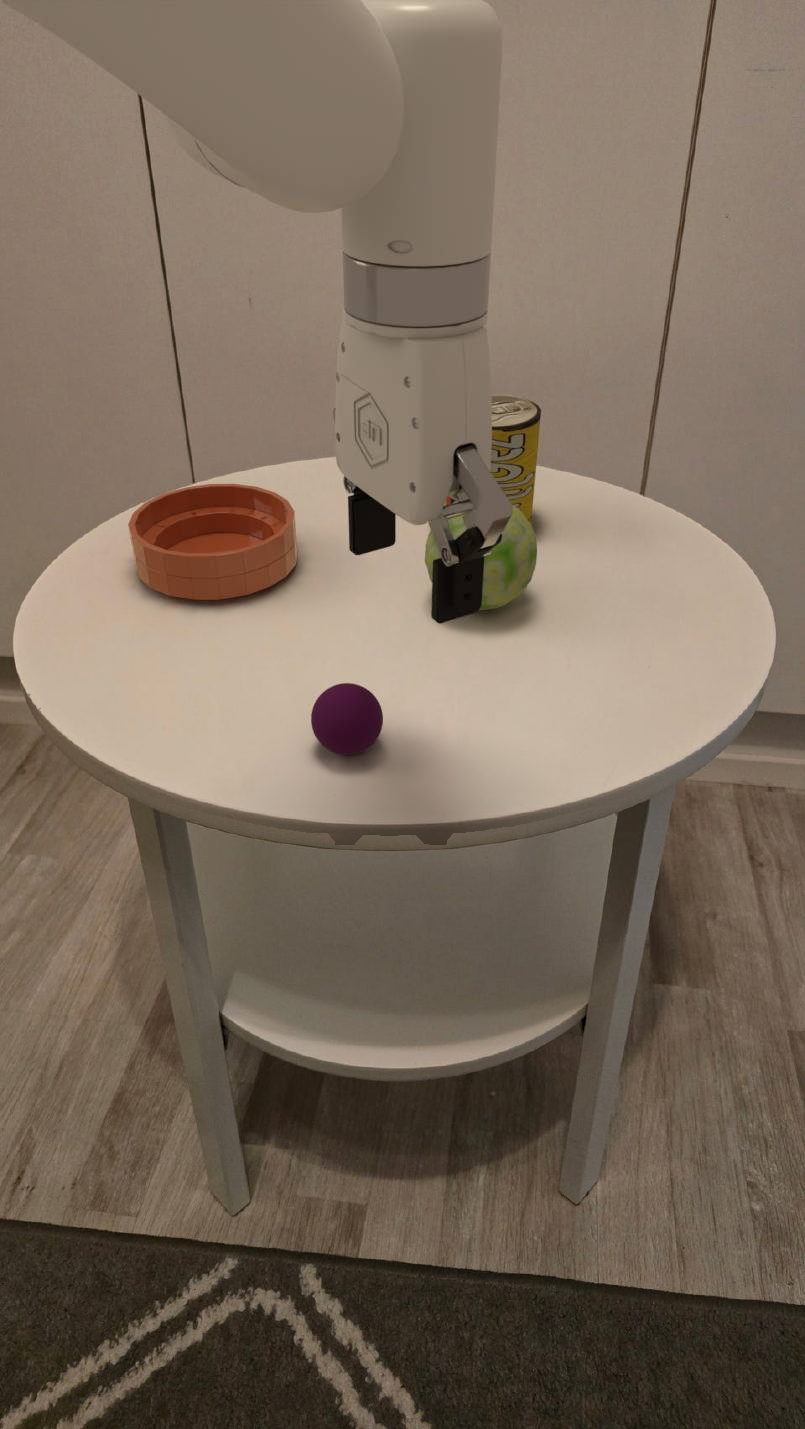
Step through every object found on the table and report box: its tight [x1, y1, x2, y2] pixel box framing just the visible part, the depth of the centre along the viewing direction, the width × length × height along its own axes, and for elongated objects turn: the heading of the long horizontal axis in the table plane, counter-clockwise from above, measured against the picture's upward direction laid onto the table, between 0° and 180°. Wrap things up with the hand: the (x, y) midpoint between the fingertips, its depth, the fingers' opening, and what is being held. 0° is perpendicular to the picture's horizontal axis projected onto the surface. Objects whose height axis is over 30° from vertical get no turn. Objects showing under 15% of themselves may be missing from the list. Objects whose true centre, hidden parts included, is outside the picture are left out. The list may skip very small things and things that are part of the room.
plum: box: [310, 682, 384, 756], centre depth 71 cm, size 5×5×5 cm
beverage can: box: [444, 393, 542, 525], centre depth 98 cm, size 9×9×12 cm
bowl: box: [127, 483, 298, 601], centre depth 93 cm, size 15×15×5 cm
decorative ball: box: [424, 502, 538, 611], centre depth 86 cm, size 10×10×10 cm
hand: (412, 580), depth 61 cm, fingers open, 9 cm apart
